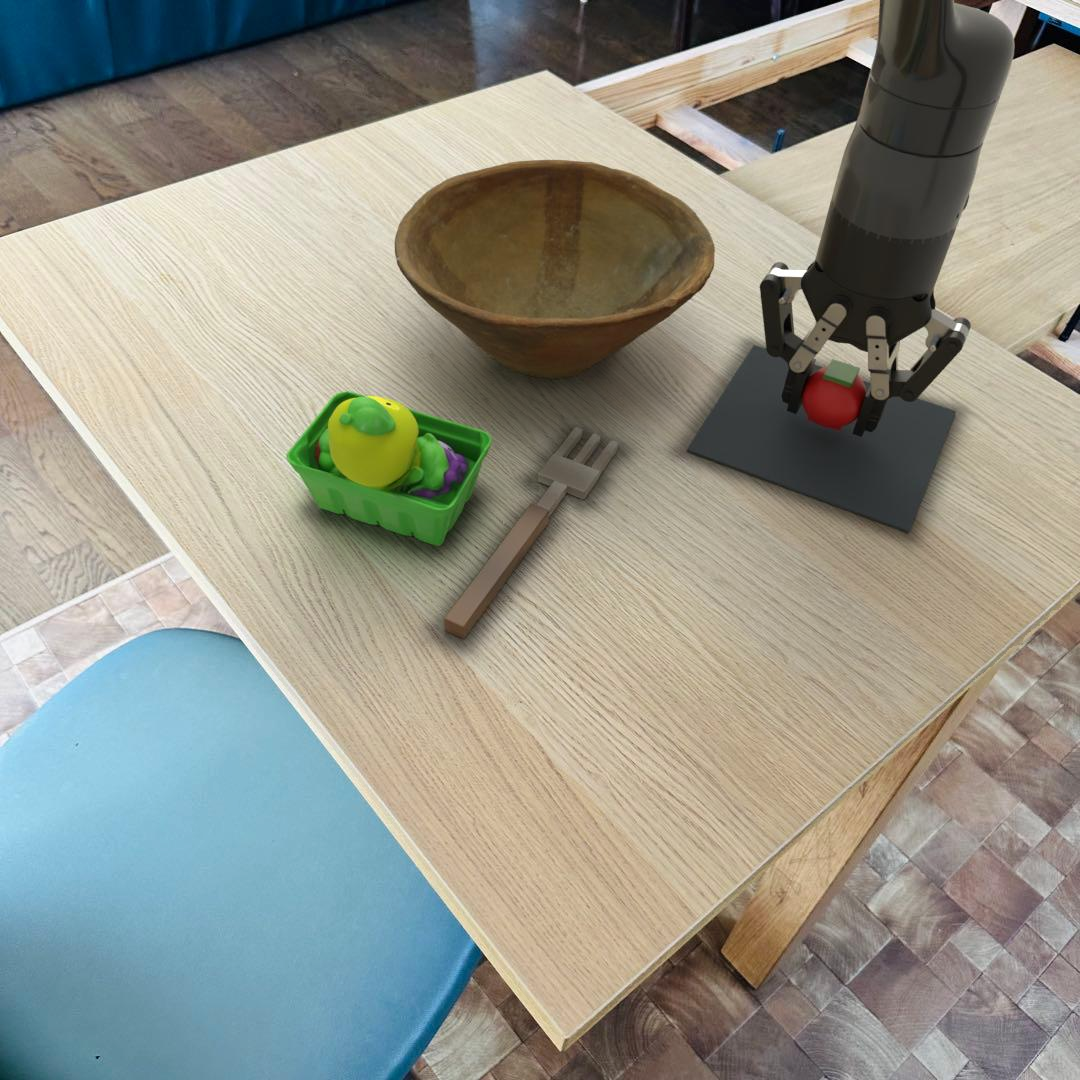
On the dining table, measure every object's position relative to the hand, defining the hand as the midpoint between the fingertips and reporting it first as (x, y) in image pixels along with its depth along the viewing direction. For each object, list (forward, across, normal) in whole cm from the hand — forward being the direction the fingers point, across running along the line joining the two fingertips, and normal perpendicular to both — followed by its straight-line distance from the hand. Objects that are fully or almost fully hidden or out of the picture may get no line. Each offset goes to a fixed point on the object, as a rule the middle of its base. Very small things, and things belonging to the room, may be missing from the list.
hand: (828, 416), depth 74 cm
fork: (+1, -14, -20) cm, 24 cm away
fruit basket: (+2, -23, -22) cm, 32 cm away
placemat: (+1, 0, 0) cm, 1 cm away
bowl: (+2, -22, -1) cm, 22 cm away
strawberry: (0, 0, 0) cm, 0 cm away
